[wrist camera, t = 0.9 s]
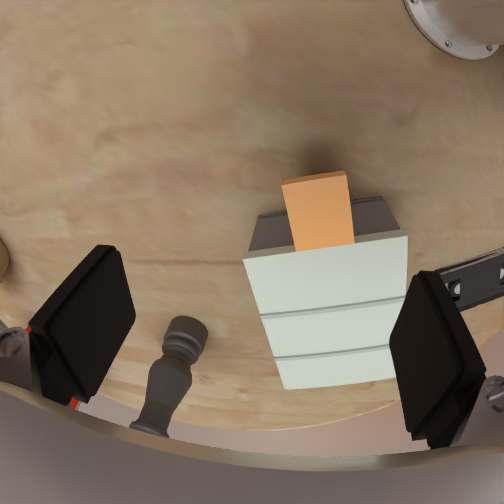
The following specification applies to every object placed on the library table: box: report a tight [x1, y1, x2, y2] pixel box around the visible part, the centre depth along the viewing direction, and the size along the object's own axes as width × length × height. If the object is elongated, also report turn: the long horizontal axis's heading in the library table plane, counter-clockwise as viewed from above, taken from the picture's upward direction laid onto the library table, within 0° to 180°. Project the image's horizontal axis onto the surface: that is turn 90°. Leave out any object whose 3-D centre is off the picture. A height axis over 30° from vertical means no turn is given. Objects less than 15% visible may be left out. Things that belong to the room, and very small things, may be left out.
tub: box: [248, 196, 401, 252], centre depth 35 cm, size 14×20×8 cm
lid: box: [243, 170, 408, 389], centre depth 29 cm, size 14×26×2 cm, turn 14°
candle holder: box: [129, 316, 208, 438], centre depth 37 cm, size 6×6×25 cm
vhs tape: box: [435, 247, 504, 312], centre depth 34 cm, size 14×8×2 cm, turn 113°
